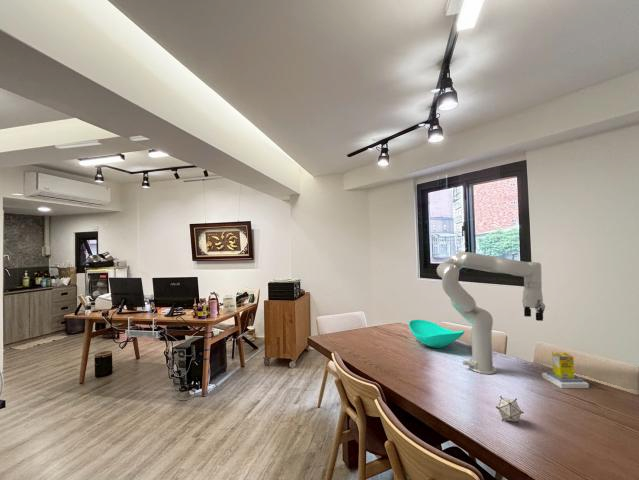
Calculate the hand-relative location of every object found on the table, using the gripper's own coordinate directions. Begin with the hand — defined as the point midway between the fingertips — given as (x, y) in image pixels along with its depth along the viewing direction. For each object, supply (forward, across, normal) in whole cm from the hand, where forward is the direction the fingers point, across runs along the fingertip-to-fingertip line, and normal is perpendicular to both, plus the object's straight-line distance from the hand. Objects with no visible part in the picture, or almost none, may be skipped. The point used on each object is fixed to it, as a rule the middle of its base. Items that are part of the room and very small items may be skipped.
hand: (533, 318), depth 158 cm
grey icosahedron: (+28, +49, -38) cm, 68 cm away
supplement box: (+25, +14, +4) cm, 29 cm away
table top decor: (+28, -39, -38) cm, 61 cm away
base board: (+26, +15, +5) cm, 31 cm away
